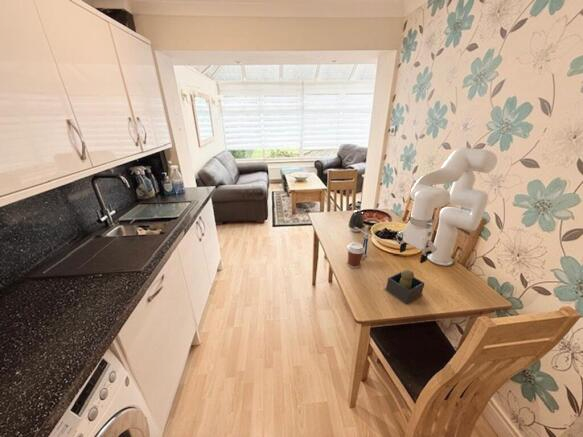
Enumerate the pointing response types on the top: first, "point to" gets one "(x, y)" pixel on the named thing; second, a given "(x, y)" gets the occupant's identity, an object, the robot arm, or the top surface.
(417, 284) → the bin
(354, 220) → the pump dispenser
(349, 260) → the coffee cup
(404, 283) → the olive flared cylinder
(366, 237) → the alien figure
